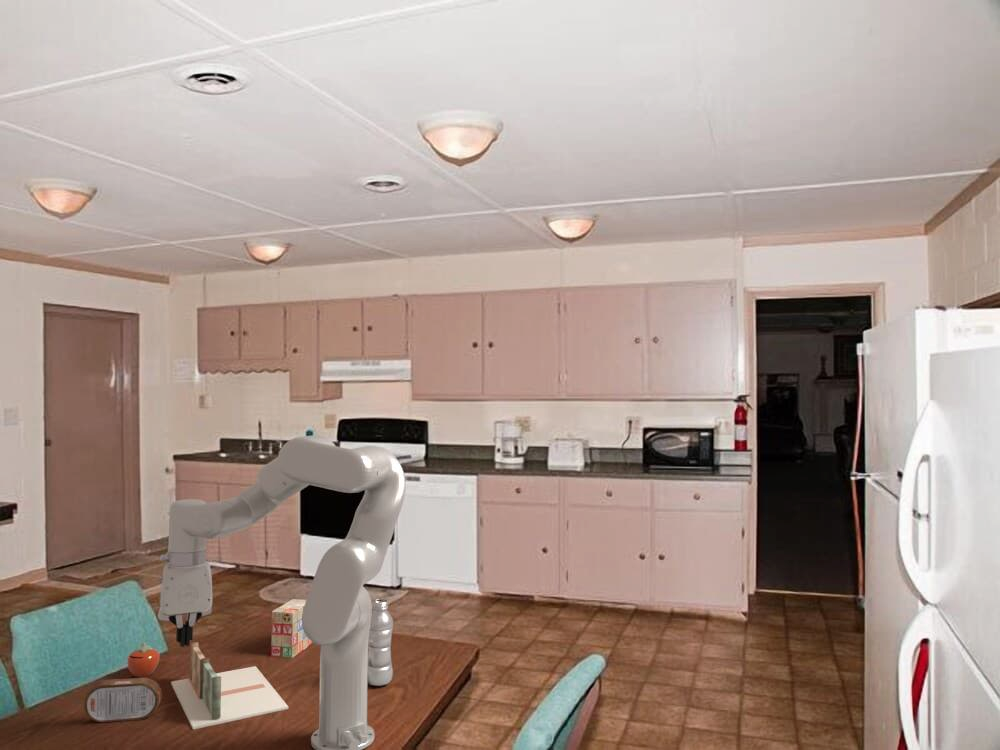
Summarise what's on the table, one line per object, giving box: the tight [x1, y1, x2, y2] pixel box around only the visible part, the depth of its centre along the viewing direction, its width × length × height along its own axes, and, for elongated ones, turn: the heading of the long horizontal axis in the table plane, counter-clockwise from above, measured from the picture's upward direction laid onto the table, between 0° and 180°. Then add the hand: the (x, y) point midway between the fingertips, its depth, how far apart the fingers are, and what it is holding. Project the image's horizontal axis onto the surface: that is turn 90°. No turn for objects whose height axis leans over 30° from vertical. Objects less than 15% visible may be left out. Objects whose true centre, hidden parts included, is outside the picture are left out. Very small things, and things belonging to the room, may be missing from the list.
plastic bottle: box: [367, 598, 394, 687], centre depth 181 cm, size 6×7×20 cm
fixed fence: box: [189, 641, 211, 699], centre depth 177 cm, size 15×2×9 cm, turn 32°
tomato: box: [126, 642, 161, 678], centre depth 186 cm, size 7×7×8 cm
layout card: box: [170, 665, 289, 730], centre depth 173 cm, size 29×20×1 cm
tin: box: [83, 677, 163, 723], centre depth 161 cm, size 15×3×8 cm, turn 102°
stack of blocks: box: [270, 598, 314, 659], centre depth 210 cm, size 21×6×12 cm, turn 169°
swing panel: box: [203, 663, 221, 719], centre depth 165 cm, size 12×2×8 cm, turn 32°
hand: (184, 644), depth 159 cm, fingers closed
